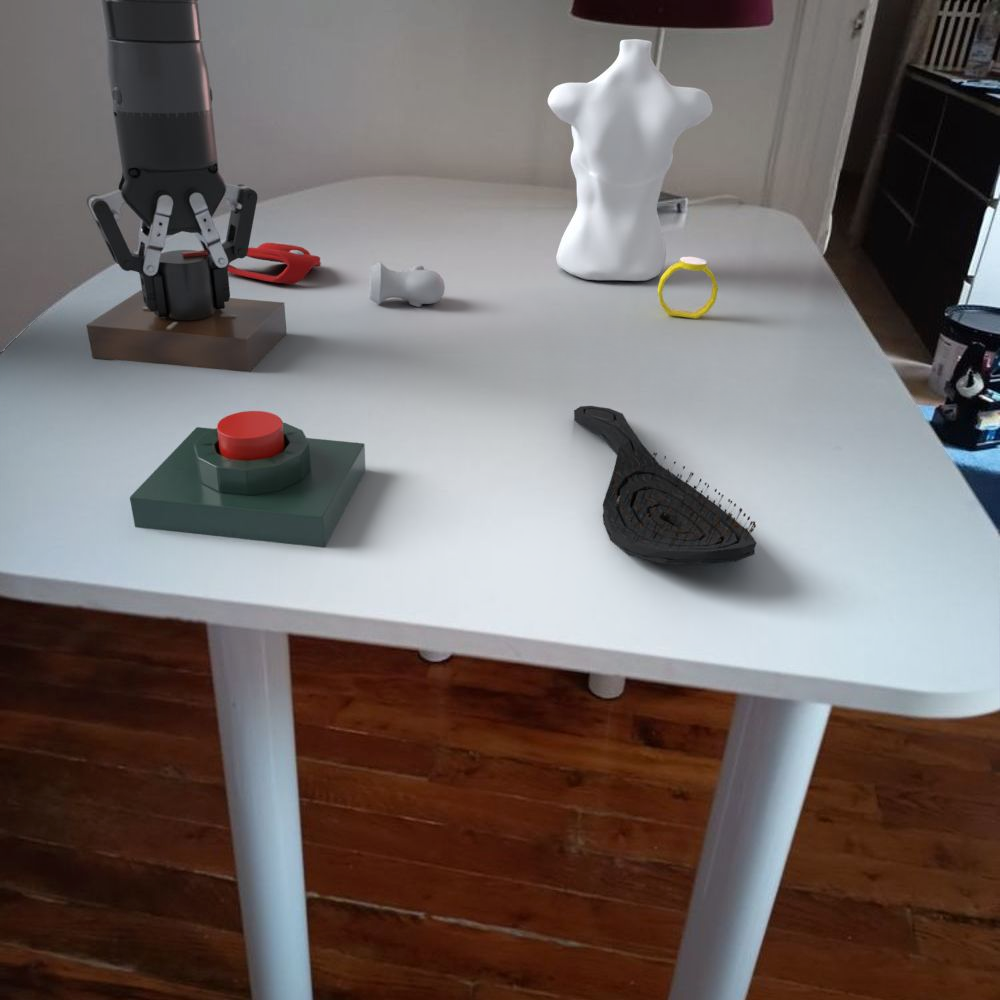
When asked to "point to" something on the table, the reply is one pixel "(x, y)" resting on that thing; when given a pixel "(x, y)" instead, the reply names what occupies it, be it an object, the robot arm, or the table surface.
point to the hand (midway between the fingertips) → (188, 309)
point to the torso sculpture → (622, 163)
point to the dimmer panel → (189, 335)
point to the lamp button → (250, 435)
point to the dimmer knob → (187, 284)
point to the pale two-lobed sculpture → (405, 285)
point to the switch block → (252, 490)
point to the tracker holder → (284, 253)
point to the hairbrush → (661, 504)
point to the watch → (694, 265)
